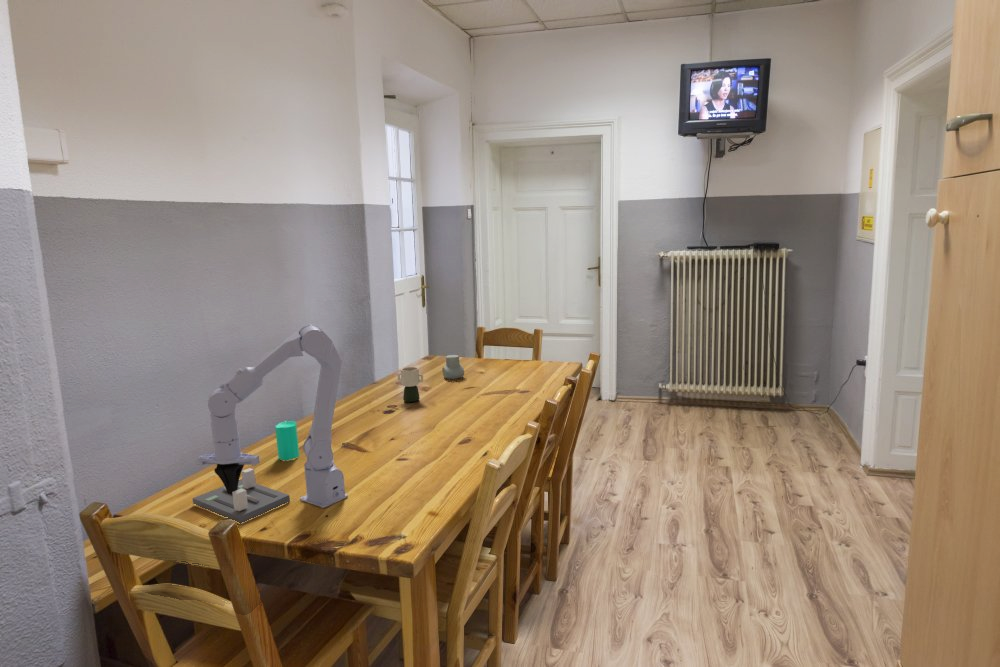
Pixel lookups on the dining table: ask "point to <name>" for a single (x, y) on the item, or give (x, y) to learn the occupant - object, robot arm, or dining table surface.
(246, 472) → the breaker
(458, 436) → the dining table surface
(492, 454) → the dining table surface
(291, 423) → the candle
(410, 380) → the character mug
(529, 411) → the dining table surface
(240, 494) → the block
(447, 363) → the air freshener
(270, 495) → the slider control panel
